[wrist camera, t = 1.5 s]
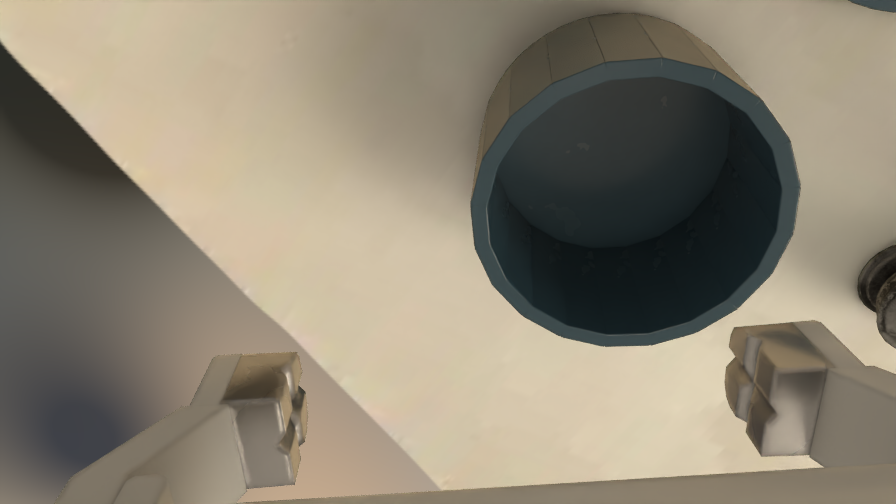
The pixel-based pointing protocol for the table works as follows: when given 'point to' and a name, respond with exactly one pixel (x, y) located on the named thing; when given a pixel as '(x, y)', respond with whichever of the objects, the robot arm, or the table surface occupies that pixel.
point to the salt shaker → (881, 291)
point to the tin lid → (878, 4)
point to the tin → (629, 184)
